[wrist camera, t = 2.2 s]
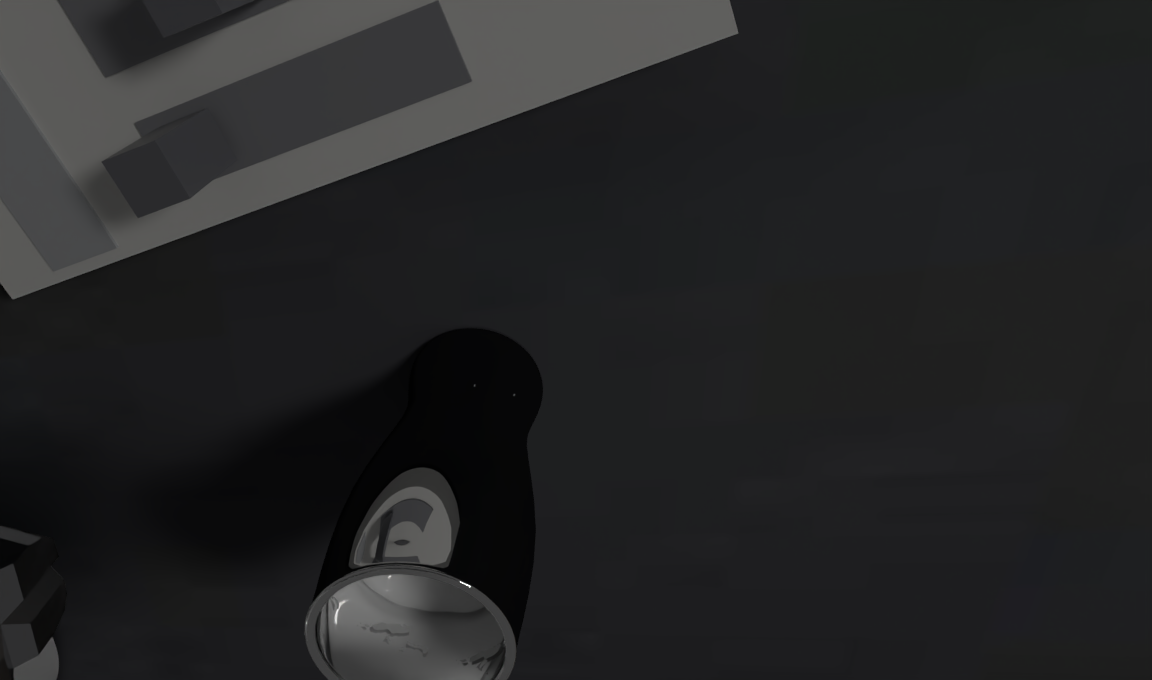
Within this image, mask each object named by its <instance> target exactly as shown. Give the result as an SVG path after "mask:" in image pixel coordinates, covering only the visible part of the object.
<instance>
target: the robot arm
mask: <svg viewBox="0 0 1152 680" xmlns="http://www.w3.org/2000/svg"><path fill="white" fill-rule="evenodd" d="M58 557H59V555H58V552H57V549H56V545H55V542H54V539H53V538H49V537H45V536H41V535H37V534H34V533H30V532H26V531H22V530H18V529H14V528H10V527H6V526H3V525H0V680H56V679H57V675H58V669H59V659H58V653H57V649H56V645H55V643H54V640H53V638H52V636H53V635H54V633H55V631H56V629H57V626H58V624H59V622H60V620H61V617H62V615H63V613H64V611H65V604H66V596H67V591H66V586H65V581H64V579H63V578H62V577H61V576H60V575H59V574H58V573H57V572H56V571H55V570H54V569H53V568H52V567H51V566H52V564H53V563H54V562H55V561H56V559H57V558H58Z"/></svg>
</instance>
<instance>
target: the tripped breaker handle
mask: <svg viewBox="0 0 1152 680" xmlns="http://www.w3.org/2000/svg"><path fill="white" fill-rule="evenodd" d="M142 1H143V3H144V5H145V6H146V8H147V10H148V11H149V13H150V15H151V17H152V18H153V20H154V22H155V24H156V25H157V27H158V29H159V31H160V32H161V34H162V36H163V38H165V37H168V36H170V35H172V34H175V33H177V32H180V31H182V30H185V29H187V28H190V27H192V26H195V25H197V24H199V23H202V22H204V21H207V20H209V19H212V18H214V17H217V16H219V15H221V14H224V13H226V12H229V11H231V10H233V9H236V8H238V7H240V6H243V5H245V4H247V3H250V2H252V1H254V0H142Z"/></svg>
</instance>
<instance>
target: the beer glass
mask: <svg viewBox="0 0 1152 680" xmlns="http://www.w3.org/2000/svg"><path fill="white" fill-rule="evenodd" d="M542 397H543V384H542V378H541V375H540V372H539V369H538V367H537V365H536V363H535V361H534V360H533V358H532V357H531V356H530V354H529V353H528V352H527V351H526V350H525V349H524V348H523V347H522V346H521V345H519V344H518V343H517V342H515V341H514V340H512V339H510V338H508V337H507V336H504V335H502V334H500V333H497V332H494V331H490V330H485V329H477V328H467V329H459V330H454V331H450V332H447V333H445V334H442V335H440V336H438V337H436V338H435V339H433V340H432V341H430V342H429V343H428V344H427V345H426V346H425V347H424V348H423V349H422V350H421V351H420V353H419V354H418V355H417V357H416V359H415V361H414V363H413V366H412V369H411V372H410V378H409V389H408V404H407V408H406V410H405V412H404V414H403V416H402V418H401V419H400V420H399V422H398V423H397V425H396V426H395V428H394V429H393V430H392V431H391V433H390V434H389V435H388V437H387V438H386V439H385V441H384V442H383V443H382V445H381V446H380V447H379V449H378V450H377V452H376V453H375V454H374V456H373V457H372V458H371V460H370V461H369V463H368V464H367V466H366V467H365V469H364V471H363V472H362V474H361V475H360V477H359V479H358V480H357V482H356V483H355V485H354V487H353V488H352V490H351V492H350V495H349V497H348V499H347V501H346V503H345V505H344V508H343V510H342V512H341V514H340V516H339V518H338V521H337V524H336V527H335V529H334V532H333V535H332V538H331V540H330V543H329V546H328V549H327V552H326V555H325V559H324V562H323V565H322V569H321V572H320V576H319V579H318V583H317V587H316V590H315V594H314V597H313V601H312V604H311V606H310V608H309V610H308V613H307V616H306V620H305V628H304V633H305V641H306V645H307V648H308V651H309V653H310V656H311V658H312V660H313V661H314V663H315V665H316V666H317V667H318V669H319V670H320V671H321V673H322V674H323V675H324V676H325V677H326V678H327V679H328V680H507V679H508V678H509V676H510V674H511V672H512V670H513V667H514V664H515V661H516V654H517V645H518V640H519V636H520V631H521V627H522V623H523V619H524V614H525V610H526V605H527V600H528V595H529V590H530V584H531V577H532V571H533V564H534V552H535V537H536V523H535V506H534V495H533V487H532V480H531V473H530V466H529V459H528V450H527V438H528V434H529V431H530V429H531V427H532V425H533V423H534V420H535V418H536V416H537V414H538V411H539V409H540V406H541V402H542Z"/></svg>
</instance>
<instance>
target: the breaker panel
mask: <svg viewBox="0 0 1152 680" xmlns="http://www.w3.org/2000/svg"><path fill="white" fill-rule="evenodd" d="M737 33H738V30H737V26H736V23H735V19H734V15H733V12H732V8H731V4H730V0H254V1H252V2H250V3H247V4H245V5H243V6H240V7H238V8H236V9H233V10H231V11H229V12H226V13H224V14H221V15H219V16H217V17H214V18H212V19H209V20H207V21H204V22H202V23H199V24H197V25H195V26H192V27H190V28H187V29H185V30H182V31H180V32H177V33H175V34H172V35H170V36H168V37H165V38H163V36H162V34H161V32H160V31H159V29H158V27H157V25H156V24H155V22H154V20H153V18H152V17H151V15H150V13H149V11H148V10H147V8H146V6H145V5H144V3H143V1H142V0H0V283H1V285H2V286H3V287H4V289H5V290H6V291H7V293H8V294H9V295H10V297H11V298H12V299H15V298H18V297H21V296H24V295H26V294H29V293H32V292H34V291H37V290H40V289H43V288H45V287H48V286H51V285H54V284H56V283H59V282H62V281H64V280H67V279H70V278H73V277H75V276H78V275H81V274H84V273H86V272H89V271H92V270H94V269H97V268H100V267H103V266H105V265H108V264H111V263H113V262H116V261H119V260H122V259H124V258H127V257H130V256H133V255H135V254H138V253H141V252H143V251H146V250H149V249H152V248H154V247H157V246H160V245H163V244H165V243H168V242H171V241H173V240H176V239H179V238H182V237H184V236H187V235H190V234H192V233H195V232H198V231H201V230H203V229H206V228H209V227H212V226H214V225H217V224H220V223H222V222H225V221H228V220H231V219H233V218H236V217H239V216H242V215H244V214H247V213H250V212H252V211H255V210H258V209H261V208H263V207H266V206H269V205H271V204H274V203H277V202H280V201H282V200H285V199H288V198H291V197H293V196H296V195H299V194H301V193H304V192H307V191H310V190H312V189H315V188H318V187H321V186H323V185H326V184H329V183H331V182H334V181H337V180H340V179H342V178H345V177H348V176H350V175H353V174H356V173H359V172H361V171H364V170H367V169H370V168H372V167H375V166H378V165H380V164H383V163H386V162H389V161H391V160H394V159H397V158H399V157H402V156H405V155H408V154H410V153H413V152H416V151H419V150H421V149H424V148H427V147H429V146H432V145H435V144H438V143H440V142H443V141H446V140H449V139H451V138H454V137H457V136H459V135H462V134H465V133H468V132H470V131H473V130H476V129H478V128H481V127H484V126H487V125H489V124H492V123H495V122H498V121H500V120H503V119H506V118H508V117H511V116H514V115H517V114H519V113H522V112H525V111H528V110H530V109H533V108H536V107H538V106H541V105H544V104H547V103H549V102H552V101H555V100H557V99H560V98H563V97H566V96H568V95H571V94H574V93H577V92H579V91H582V90H585V89H587V88H590V87H593V86H596V85H598V84H601V83H604V82H607V81H609V80H612V79H615V78H617V77H620V76H623V75H626V74H628V73H631V72H634V71H636V70H639V69H642V68H645V67H647V66H650V65H653V64H656V63H658V62H661V61H664V60H666V59H669V58H672V57H675V56H677V55H680V54H683V53H686V52H688V51H691V50H694V49H696V48H699V47H702V46H705V45H707V44H710V43H713V42H715V41H718V40H721V39H724V38H726V37H729V36H732V35H735V34H737Z"/></svg>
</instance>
